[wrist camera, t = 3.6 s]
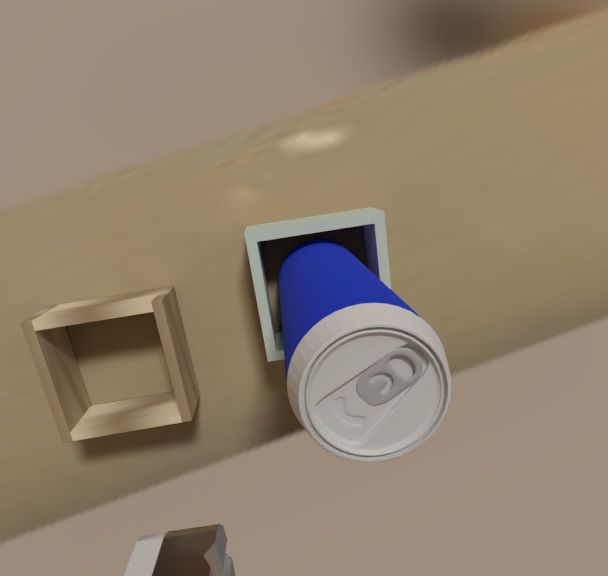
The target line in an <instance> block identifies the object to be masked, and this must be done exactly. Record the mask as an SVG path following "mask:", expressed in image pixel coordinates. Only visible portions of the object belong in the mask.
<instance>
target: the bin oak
mask: <svg viewBox="0 0 608 576" xmlns="http://www.w3.org/2000/svg"><path fill="white" fill-rule="evenodd" d="M149 312H154V315H155V319H156V323H157V327H158V331H159V335H160V339H161V342H162V346H163V350H164V354H165V358H166V362H167V366H168V370H169V373H170V377H171V381H172V385H173V389H174V392H170V393H164V394H158V395H152V396H146V397H140V398H134V399H129V400H123V401H117V402H111V403H105V404H99V405H93V406H91V404H90V401H89V398H88V395H87V392H86V389H85V386H84V382H83V379H82V376H81V373H80V370H79V367H78V364H77V361H76V358H75V355H74V351H73V348H72V345H71V342H70V339H69V336H68V333H67V330H66V327H65V326H69V325H75V324H81V323H87V322H94V321H100V320H106V319H112V318H118V317H124V316H131V315H137V314H143V313H149ZM21 326H22V328H23V331H24V334H25V337H26V340H27V343H28V345H29V348H30V351H31V354H32V357H33V359H34V362H35V365H36V368H37V371H38V374H39V376H40V379H41V382H42V385H43V388H44V391H45V393H46V396H47V399H48V402H49V405H50V408H51V410H52V413H53V416H54V419H55V422H56V425H57V427H58V430H59V433H60V436H61V439H62V441H63V443H65V442H71V441H77V440H83V439H88V438H94V437H100V436H106V435H112V434H117V433H123V432H129V431H135V430H141V429H146V428H152V427H158V426H164V425H170V424H175V423H181V422H187V421H192V419H193V416H194V413H195V409H196V406H197V403H198V400H199V397H200V394H199V389H198V385H197V381H196V377H195V373H194V369H193V364H192V360H191V356H190V352H189V348H188V343H187V339H186V335H185V331H184V327H183V323H182V318H181V314H180V310H179V306H178V302H177V298H176V293H175V289H174V286H173V287H167V288H160V289H154V290H148V291H141V292H135V293H129V294H123V295H116V296H110V297H104V298H98V299H91V300H85V301H79V302H72V303H66V304H60V305H54V306H48V307H47V308H45V309H43V310H41V311H40V312H38V313H36V314H35V315H33V316H31V317H29V318H28V319H26V320H24V321H23V322H21Z"/></svg>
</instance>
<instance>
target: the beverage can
mask: <svg viewBox="0 0 608 576" xmlns="http://www.w3.org/2000/svg"><path fill="white" fill-rule="evenodd" d="M278 285H279V297H280V309H281V321H282V333H283V345H284V357H285V370H286V382H287V394H288V398H289V401H290V405H291V407H292V410H293V412H294V414H295V416H296V417H297V419H298V420H299V422H300V423H301V425H302V426H303V427H304V428H305V430H306V431H307V432H308V433H309V434H310V436H311V437H312V438H313V439H314V440H315V441H316V442H317V443H318V444H319V445H320V446H321V447H323V448H324V449H326V450H327V451H328V452H330V453H332V454H334V455H336V456H338V457H341V458H344V459H347V460H350V461H356V462H364V463H375V462H384V461H388V460H393V459H396V458H398V457H401V456H404V455H406V454H408V453H410V452H411V451H413V450H415V449H416V448H418V447H419V446H421V445H422V444H423V443H425V442H426V441H427V440H428V439H429V438H430V437H431V436H432V435H433V434H434V432H435V431H436V430H437V429H438V427H439V426H440V424H441V422H442V421H443V419H444V417H445V415H446V412H447V409H448V407H449V402H450V397H451V377H450V371H449V367H448V363H447V358H446V354H445V351H444V348H443V345H442V343H441V341H440V339H439V337H438V336H437V334H436V333H435V332H434V330H433V329H432V328H431V326H430V325H429V324H427V323H426V322H425V321H424V320H423V319H422V318H421V317H420V316H419V315H418V314H417V313H416V312H414V311H413V310H412V309H411V308H410V307H409V306H408V305H407V304H406V303H405V302H404V301H403V300H401V299H400V298H399V297H398V296H397V295H396V294H395V293H394V292H393V291H392V290H391V289H390V288H388V287H387V286H386V285H385V284H384V283H383V282H382V281H381V280H380V279H379V278H378V277H377V276H375V275H374V274H373V273H372V272H371V271H370V270H369V269H368V268H367V267H366V266H365V265H364V264H363V263H361V262H360V261H359V260H358V259H357V258H356V257H355V256H354V255H353V254H352V253H351V252H350V251H348V250H347V249H346V248H345V247H344V246H342V245H341V244H339V243H337V242H335V241H332V240H328V239H312V240H308V241H305V242H303V243H301V244H299V245H297V246H296V247H294V248H293V249H292V250H291V251H290V252H289V253H288V254H287V255H286V257H285V258H284V260H283V262H282V264H281V266H280V270H279V275H278Z"/></svg>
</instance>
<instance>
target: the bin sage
mask: <svg viewBox="0 0 608 576" xmlns="http://www.w3.org/2000/svg"><path fill="white" fill-rule="evenodd" d="M361 225H364V235H365V244H366V254H367V263H368V269H369V270H370V271H371V272H372V273H373V274H374V275H375V276H377V277H378V278H379V279H380V280H381V281H382V282H383V283H384V284H385V285H386V286H387V287H388V288H390V289H391V281H390V270H389V259H388V248H387V237H386V226H385V215H384V211H382V210H379V209H376V208H372V207H369V208H363V209H357V210H350V211H344V212H337V213H331V214H324V215H318V216H311V217H305V218H298V219H292V220H285V221H279V222H272V223H266V224H260V225H253V226H247V228H246V230H245V232H244V235H245V240H246V246H247V251H248V256H249V262H250V267H251V273H252V278H253V284H254V289H255V294H256V300H257V305H258V311H259V316H260V322H261V327H262V332H263V338H264V343H265V349H266V354H267V359H268V362H271V361H277V360H283V359H285V357H284V345H283V333H282V332H277V333H276V332H275V326H274V321H273V315H272V309H271V304H270V298H269V292H268V287H267V281H266V275H265V269H264V264H263V258H262V252H261V247H260V241H266V240H272V239H278V238H285V237H291V236H297V235H304V234H310V233H317V232H323V231H329V230H336V229H342V228H349V227H355V226H361Z"/></svg>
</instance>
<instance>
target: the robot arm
mask: <svg viewBox="0 0 608 576" xmlns="http://www.w3.org/2000/svg"><path fill="white" fill-rule="evenodd" d="M226 543H227V538H226V534H225V531H224V527H223V525H221V524H217V525H210V526H203V527H197V528H189V529H182V530H175V531H168V532H166V533H159V534H151V535H144V536H141V537H140V538H139V540H138V541H137V542H136V543H135V545H134V548H133V551H132V553H131V556H130V558H129V561H128V563H127V566H126V569H125V571H124V574H123V576H235V571H234V566H233V561H232V558H231V557H230V556H228V555H227V554H226V553H225V551H226Z"/></svg>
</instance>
